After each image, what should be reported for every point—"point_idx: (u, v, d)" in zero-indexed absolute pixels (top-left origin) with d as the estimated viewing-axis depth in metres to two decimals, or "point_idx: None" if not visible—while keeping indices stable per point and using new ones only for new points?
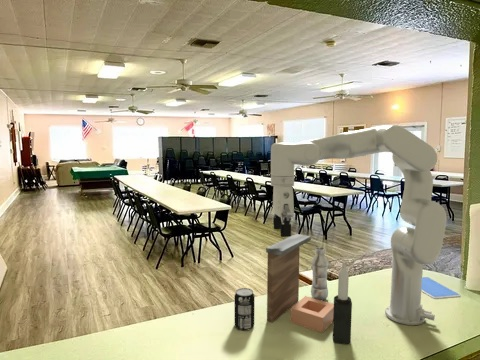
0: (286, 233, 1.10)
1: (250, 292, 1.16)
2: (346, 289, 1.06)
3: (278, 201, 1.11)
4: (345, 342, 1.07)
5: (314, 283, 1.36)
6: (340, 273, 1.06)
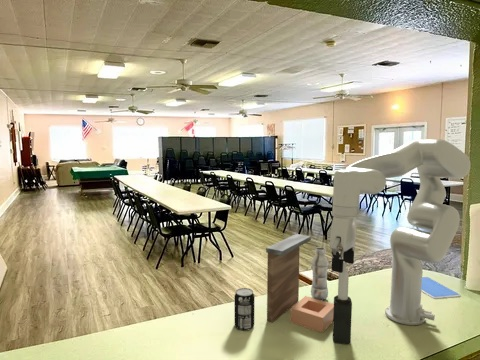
0: None
1: (250, 292, 1.16)
2: (346, 289, 1.06)
3: (355, 229, 1.07)
4: (345, 342, 1.07)
5: (314, 283, 1.36)
6: (340, 273, 1.06)
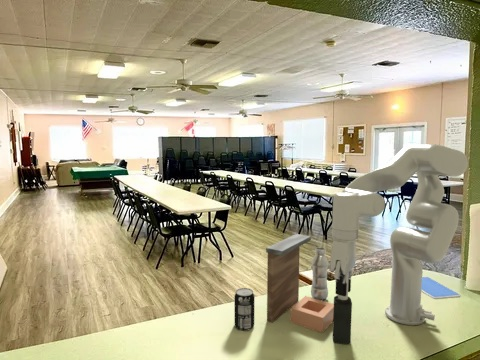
0: None
1: (250, 292, 1.16)
2: None
3: (355, 251, 1.08)
4: (345, 342, 1.07)
5: (314, 283, 1.36)
6: None
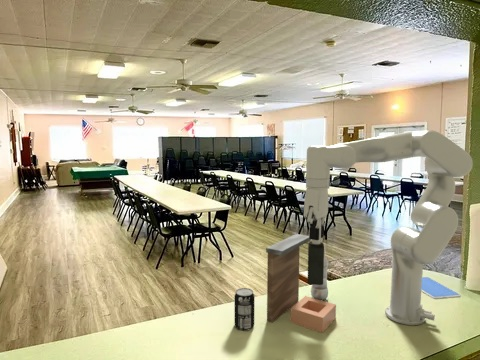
0: None
1: (250, 292, 1.16)
2: (319, 234, 1.16)
3: (327, 200, 1.18)
4: (318, 283, 1.16)
5: None
6: None
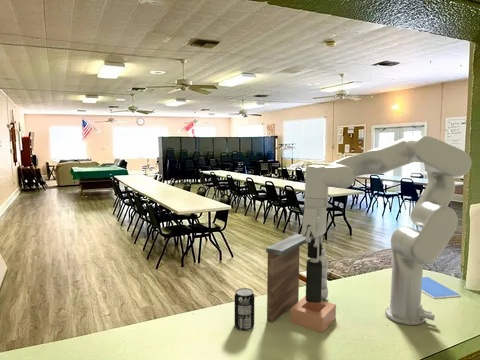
0: None
1: (250, 292, 1.16)
2: (317, 252, 1.17)
3: (326, 219, 1.19)
4: (316, 300, 1.18)
5: None
6: None
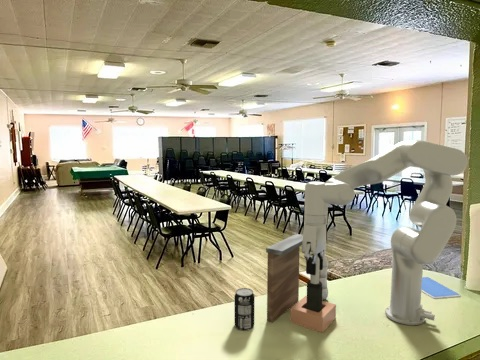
0: None
1: (250, 292, 1.16)
2: (317, 274, 1.18)
3: (325, 235, 1.20)
4: None
5: None
6: None
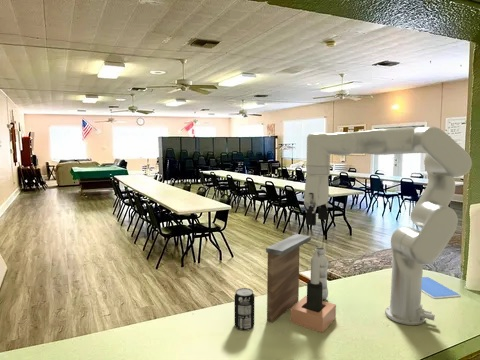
0: None
1: (250, 292, 1.16)
2: (317, 274, 1.18)
3: (328, 188, 1.18)
4: None
5: None
6: (312, 260, 1.18)
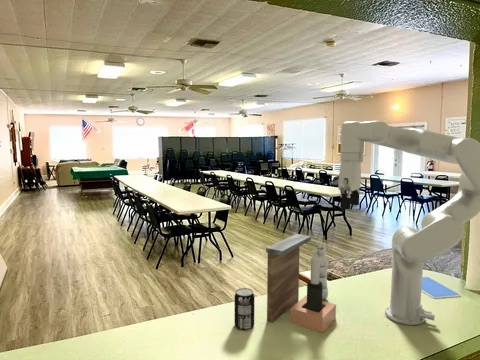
0: None
1: (250, 292, 1.16)
2: (317, 274, 1.18)
3: (360, 174, 1.24)
4: None
5: None
6: (312, 260, 1.18)
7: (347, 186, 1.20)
